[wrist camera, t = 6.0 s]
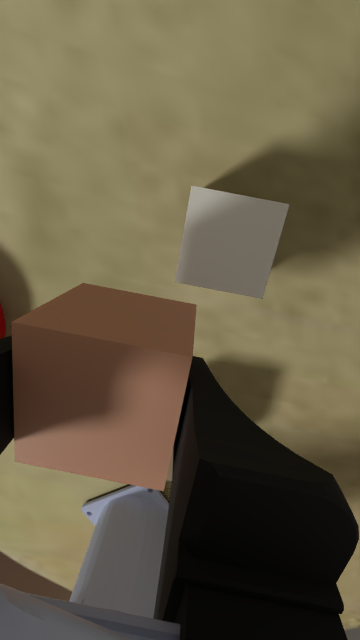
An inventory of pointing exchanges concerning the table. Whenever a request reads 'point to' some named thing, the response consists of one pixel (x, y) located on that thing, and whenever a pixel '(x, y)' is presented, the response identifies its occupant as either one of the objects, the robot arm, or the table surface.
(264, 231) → the cream cube
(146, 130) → the table surface
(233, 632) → the robot arm
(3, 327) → the decorative ornament
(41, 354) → the terracotta cube
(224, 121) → the table surface
